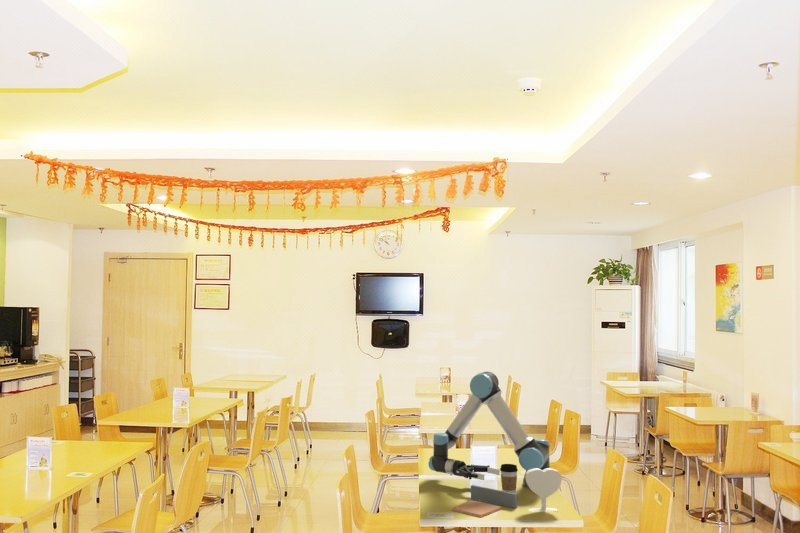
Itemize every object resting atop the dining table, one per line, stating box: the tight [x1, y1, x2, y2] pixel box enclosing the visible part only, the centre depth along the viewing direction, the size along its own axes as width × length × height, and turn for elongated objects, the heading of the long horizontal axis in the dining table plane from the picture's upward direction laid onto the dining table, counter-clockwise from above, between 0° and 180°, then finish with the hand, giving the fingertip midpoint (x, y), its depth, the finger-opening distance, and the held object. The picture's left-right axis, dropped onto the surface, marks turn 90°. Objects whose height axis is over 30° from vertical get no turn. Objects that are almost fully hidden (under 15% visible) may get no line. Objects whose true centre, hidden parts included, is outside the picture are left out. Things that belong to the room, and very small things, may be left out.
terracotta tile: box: [450, 499, 502, 518], centre depth 302 cm, size 16×16×1 cm
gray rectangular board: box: [470, 484, 518, 509], centre depth 313 cm, size 2×24×6 cm, turn 50°
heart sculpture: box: [524, 467, 562, 513], centre depth 303 cm, size 16×5×18 cm, turn 93°
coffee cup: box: [499, 463, 518, 494], centre depth 324 cm, size 8×8×15 cm
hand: (491, 474), depth 330 cm, fingers open, 13 cm apart
